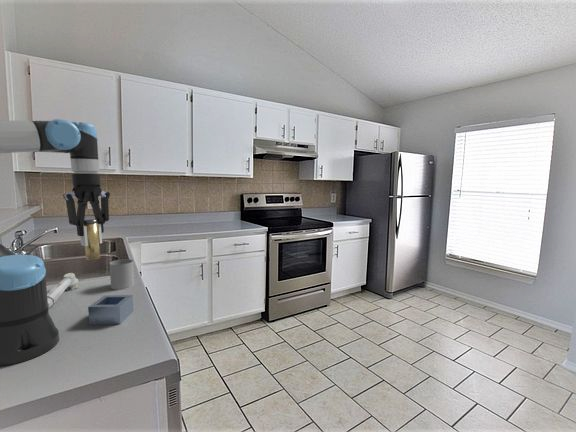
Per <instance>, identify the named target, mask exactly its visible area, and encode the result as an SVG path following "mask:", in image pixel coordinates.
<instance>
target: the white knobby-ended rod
mask: <svg viewBox="0 0 576 432" xmlns="http://www.w3.org/2000/svg"><path fill="white" fill-rule="evenodd" d="M62 278H63V279H62V280H61V281H59V282H58V283H57V285H55V286H54V287H53V288H52V289H50V291H49V292H47V300H48V310H49V309H50V308H52V307H53V306H54V305H56V304H55V302H56V301H57V300H58V299H59V298H60V296H61V295H62V294H63V293H64V292H65V291H66V292H68V291H69V292H70V291H73V290H75V289H77V288H79V282H80V281H79V278H77V277H76V274H75V273H73V272H69V273H65V274H64V275H63V277H62Z"/></svg>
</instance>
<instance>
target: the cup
mask: <svg viewBox="0 0 576 432" xmlns="http://www.w3.org/2000/svg"><path fill="white" fill-rule="evenodd" d="M134 274H135V273H134V261H133V259H129V258H127V259H126V258H125V259H116V260H113V261H110V262H109V275H110V289H112V290H118V289H119V290H127V289H131V288H132V287H133V286H134V285H135V276H134Z"/></svg>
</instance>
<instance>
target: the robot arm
mask: <svg viewBox="0 0 576 432" xmlns="http://www.w3.org/2000/svg"><path fill="white" fill-rule="evenodd" d="M98 140H99V139H98V134H97V129H96V126H95V125H94V124H92V123H88V122H83V121H82V122H78V121H69V120H67V119H52V120H0V154H14V153H16V154H17V153H30V152H31V153H32V152H34V153H57V154H59V153H60V154H61V153H63V154H69V157H70V168H71V172H73V173H72V174H71V177H72V178H71V179H72V180H71V182H72V186H73V187H72V189H71V191H70V192H68V193H63V195H62V196H63V199H64V200H65V203H66V209H67V210H66V211H67V217H68V223H69V225H73V226H75V227H76V234H77V237H79V238H80V245H81V246H82V247H85V246H88V237H87V226H83V225H84V220H86V217H85V216H86V211H87V209H86V208H87V205H88V203H89V204H90V205H91V209H92V212H93V216H94V219H97V222H98V223H97V224H98V236H99V244H103V236H102V234H103V233H104V229H105V228H104V224H105V223H106V222H109V220H110V212H109V211H110V210H109V209H110V207H109V204H110V202H109V199H110V196H111V192H109V191H104V190H103V189H102V188H101V174H100V171H101V170H100V169H101V168H100V162H99V151H98V150H99V148H98V147H99V146H98ZM99 197H100V199H99ZM75 198H76V199H77V207H76V204H75V202H76V201H75ZM46 274H47V269H46V267H45V263H44V260H43V259H42V258H41V257H39V256H37V255H32V254H30V255H28V254H16V253H15V252H13V251H12V250H10V249H9V248H7V247H6V246H4V245H3V244H1V243H0V367H3V366H9V365H14V364H18V363H22V362H25V361H29V360H31V359H34V358H38V357H39V356H41V355H43V354H45V353H47V352H49V351H50V350H52V349H53V348H54V347H56V345H57V344H59V341H60V333H59V329H58V328H57V327H56V324H55V322H54V321H53V319H52V317H51V315H50V313H49V309H48V300H47V293H48V291H47V279H46V278H47V277H46Z"/></svg>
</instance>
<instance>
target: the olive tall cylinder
mask: <svg viewBox="0 0 576 432" xmlns="http://www.w3.org/2000/svg"><path fill="white" fill-rule="evenodd" d="M97 223H98V222H97V219H95V218H90V219H88V218H85V219H84V225H83V226H87V237H88V246H84V251H85V260H86V261H93V260H94V261H95V260H98V259H101V251H100V249H101V248H100V243H99V236H98V224H97Z"/></svg>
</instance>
